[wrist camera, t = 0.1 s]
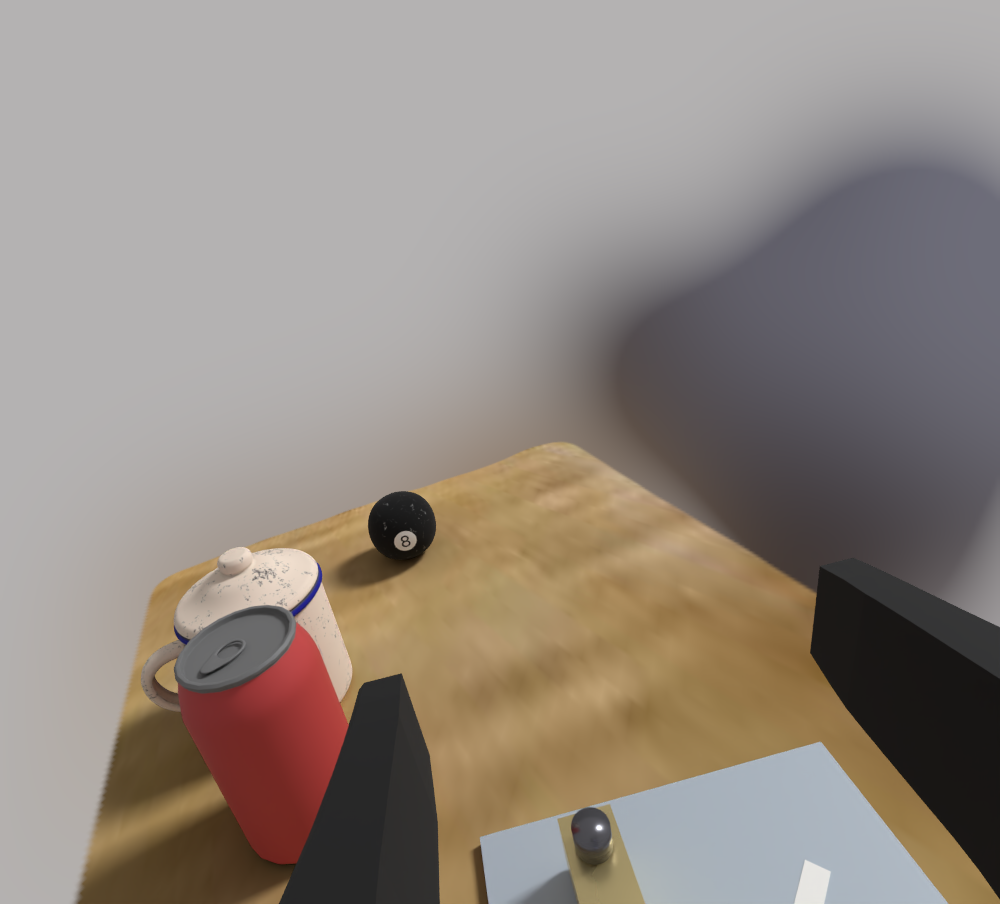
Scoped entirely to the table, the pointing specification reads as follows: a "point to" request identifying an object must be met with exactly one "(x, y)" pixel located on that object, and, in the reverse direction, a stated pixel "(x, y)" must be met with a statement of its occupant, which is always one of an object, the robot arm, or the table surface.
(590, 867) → the swing bar
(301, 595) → the teacup with lid
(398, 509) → the billiard ball
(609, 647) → the table surface
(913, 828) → the table surface
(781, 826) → the door panel
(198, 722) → the beer can
